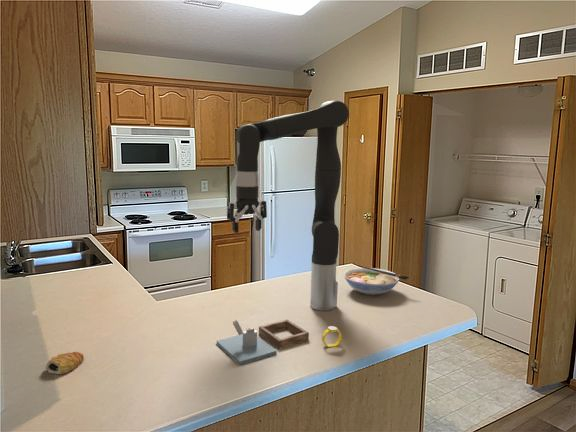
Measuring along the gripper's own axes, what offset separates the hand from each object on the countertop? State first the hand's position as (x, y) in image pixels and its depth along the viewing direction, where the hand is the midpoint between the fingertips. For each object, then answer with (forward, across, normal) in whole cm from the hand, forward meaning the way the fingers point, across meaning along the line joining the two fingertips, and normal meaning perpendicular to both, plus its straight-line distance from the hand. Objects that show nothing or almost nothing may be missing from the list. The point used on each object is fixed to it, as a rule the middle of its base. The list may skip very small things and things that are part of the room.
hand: (247, 231), depth 151 cm
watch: (+30, +10, -35) cm, 47 cm away
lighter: (+29, -13, -23) cm, 39 cm away
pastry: (+31, -59, -6) cm, 67 cm away
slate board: (+30, -13, -23) cm, 40 cm away
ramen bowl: (+30, +55, -6) cm, 63 cm away
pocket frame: (+30, +1, -22) cm, 37 cm away
